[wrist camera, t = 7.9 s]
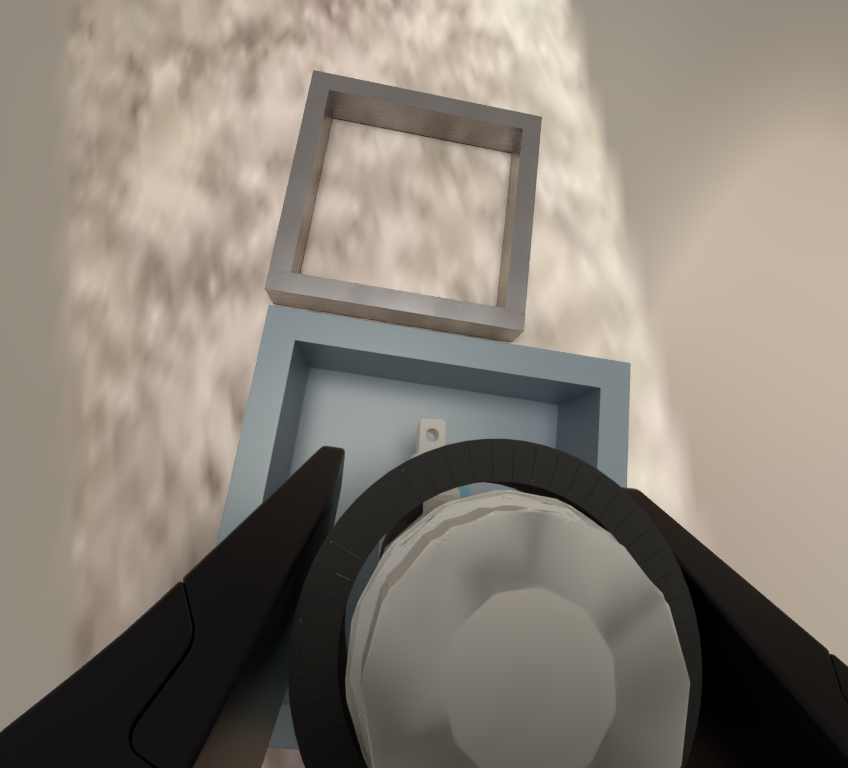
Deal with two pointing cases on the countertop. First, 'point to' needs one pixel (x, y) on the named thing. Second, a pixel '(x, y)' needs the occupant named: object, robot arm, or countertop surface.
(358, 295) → the silver picture frame
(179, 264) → the countertop surface
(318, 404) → the plastic bin
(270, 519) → the robot arm
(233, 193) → the countertop surface
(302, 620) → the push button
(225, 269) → the countertop surface
